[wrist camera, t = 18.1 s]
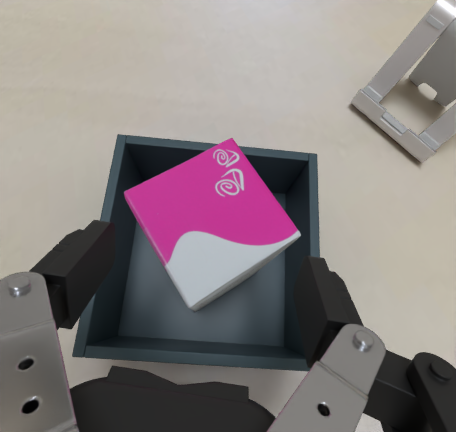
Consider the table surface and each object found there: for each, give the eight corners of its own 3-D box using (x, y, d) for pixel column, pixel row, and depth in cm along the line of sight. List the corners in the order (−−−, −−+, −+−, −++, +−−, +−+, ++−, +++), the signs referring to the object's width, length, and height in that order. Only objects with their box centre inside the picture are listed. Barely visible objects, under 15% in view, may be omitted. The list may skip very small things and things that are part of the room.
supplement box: (259, 271, 23) (307, 237, 12) (193, 313, 22) (182, 318, 11) (220, 210, 25) (232, 132, 14) (156, 247, 23) (112, 193, 12)
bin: (109, 343, 22) (71, 357, 15) (138, 176, 26) (117, 133, 19) (290, 354, 22) (323, 372, 16) (290, 190, 26) (317, 153, 20)
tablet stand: (347, 106, 29) (400, 30, 21) (393, 65, 31) (458, -18, 23) (417, 166, 28) (501, 108, 20) (461, 119, 30) (554, 49, 22)
